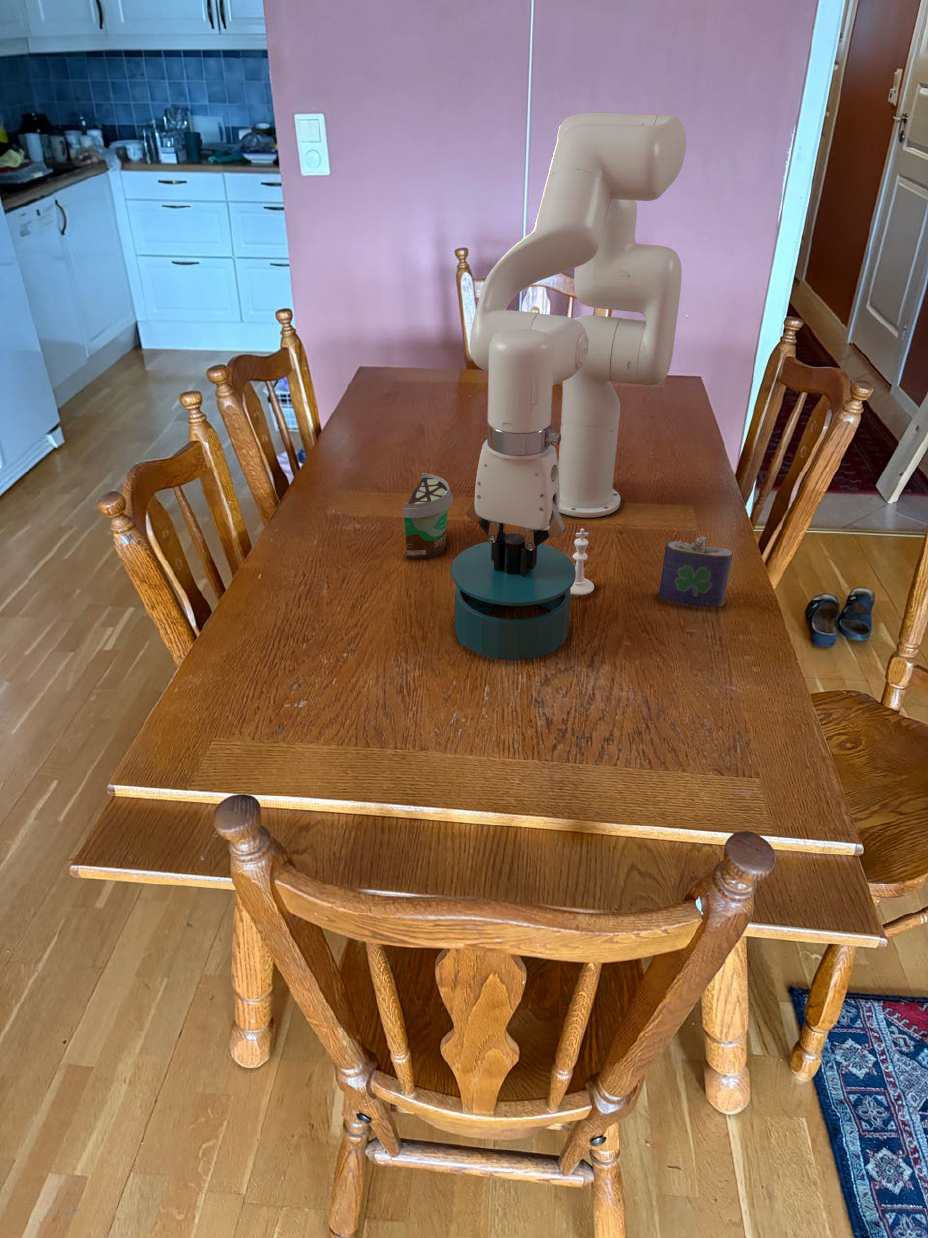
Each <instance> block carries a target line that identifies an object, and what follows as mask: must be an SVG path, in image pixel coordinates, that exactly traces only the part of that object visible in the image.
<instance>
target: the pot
mask: <svg viewBox="0 0 928 1238" xmlns="http://www.w3.org/2000/svg"><path fill="white" fill-rule="evenodd" d="M571 596H572V594H571V589H569V590H568V591H567V592H566V593H565V594H563V595H562V596H560V597H558V598H556V599H554V600H551V601H548V602H545V603H541V604H537V605H538V606H541V607H543V608H545V609H547V610H549V611H550V612H548V613H545V614H542V615H538V616H535V617H530V618H522V619H513V618H500V617H496V616H491V615H489V614H490V613H491V611H492V610H493V608H494V607H495V606H496V604H492V603H488V602H484V601H481V600H478V599H476V598H473V597H471V596H469V595H467V594H466V593H464V592H463V591H462V590H460V589H459V588H458V587H457V586H456V585H455V589H454V631H455V636H456V639H457V640H458V642H459V643H460V645H461V646H462V647H466V648H467V649H469V650H471V651H473V652H475V653H476V654H479V655H480V656H484V657H487V658H492V659H496V660H501V661H503V660H504V661H525V660H533V659H538V658H539V657H540V658H541V657H543V656H547V655H549V654H551V653H553V652H554V651H555V650H557V649H559V648H560V647H561V646H562V645H563V644H564V642H565V641H566V639H567V638H568V637H569V635H568V634H569V624H570V612H571V601H572V600H571V598H572V597H571Z"/></svg>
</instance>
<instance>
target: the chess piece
mask: <svg viewBox="0 0 928 1238" xmlns="http://www.w3.org/2000/svg"><path fill="white" fill-rule="evenodd" d="M575 537H576V539H575V540H574V542H573V544H574V546H575V551H576V552H574V553H573V555H572V558H573V559H574V560H576V561H575V565H574V566H575V570H576V578H575V582H574V584H573V586H572V587H571V588H570V589H571V595H573V596H574V595H575V596H584V595H589V594H591V593H592V592H593V591H594V589H595V584H594V583H593V582H592V581H591V580H590V579H588V578H586V577H585V569H584V567H585V566H584V561H586V560H588V558H589V557H588V554H587V553H586V550H587V548H588V546H589V540H588V539H586V538H587V537H589V532H588V531H587V532H585V529H584V528H580V531H579V532H575ZM585 537H586V538H585Z"/></svg>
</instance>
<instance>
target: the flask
mask: <svg viewBox="0 0 928 1238" xmlns="http://www.w3.org/2000/svg"><path fill="white" fill-rule="evenodd" d="M706 541H707V536H703V535H700V537H696V540H695V541H694V542H692V543H690V544H689V543H688V542H682V540H677V541H675V540H674V541H669V542H667V543H666V544H665V547H664V554H663V562H662V569H661V576H660V583H659V590H658V597H659V598H660V599H661V600H663V601H666V602H672V603H676V604H680V605H687V606H694V607H704V608H721V607H723V606H724V604H725V599H726V594H727V593H726V592H727V588H728V582H729V575H730V570H731V564H732V559H733V552H732V551H731V550H730V549H729V548H725V547H711V546H706Z"/></svg>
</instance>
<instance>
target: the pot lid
mask: <svg viewBox="0 0 928 1238" xmlns="http://www.w3.org/2000/svg"><path fill="white" fill-rule="evenodd" d="M506 534H507V533H506ZM524 546H525V535H524V534H521V533H514V532H513V533H508V534H507V535H505V536H504V537H503V551H502V568H501V569H500V570H498V571H497V570H494V561H493V560H491V542H490V541H489V540H488V541H486V542H481V543H477V544H474V545H472V546H470V547H468V548H466V549H464V550H463V551H462V552H460V553H459V554H458V555H456V557H455V558H454V560H453V561H452V563H451V566H450V575H451V579H452V582H453V583H454V585H455V587H456V586H457V587H458V588H459V589H460V590H462V591H463V592H464V593H466V594H467V595H469V596H471V597H473V598H476V599H478V600H481V601H484V602H488V603H492V604H495V605H499V606H506V607H525V606H534V605H538V604H541V603H545V602H548V601H551V600H554V599H556V598H558V597H560V596H562V595H563V594H565V593H566V592H567V591H568V590H569V589H570V588H571V587H572V586H573V584H574V582H575V578H576V570H575V566H576V565H575V564H574V563H573V561H572V560H571V559H570V557H568V556H567V555H566V554H565V553H563V552H562V551H561V550H559V549H557V548H555V547H552V546H550V545H547V544H544V543H541V544H539V545H538V546H537V563H536V566H535V568H534V569H531V570H530V572H529V573H528V574H527V576H526V577H524V576H521V575H520V564H521V550H522V548H523V547H524Z"/></svg>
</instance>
